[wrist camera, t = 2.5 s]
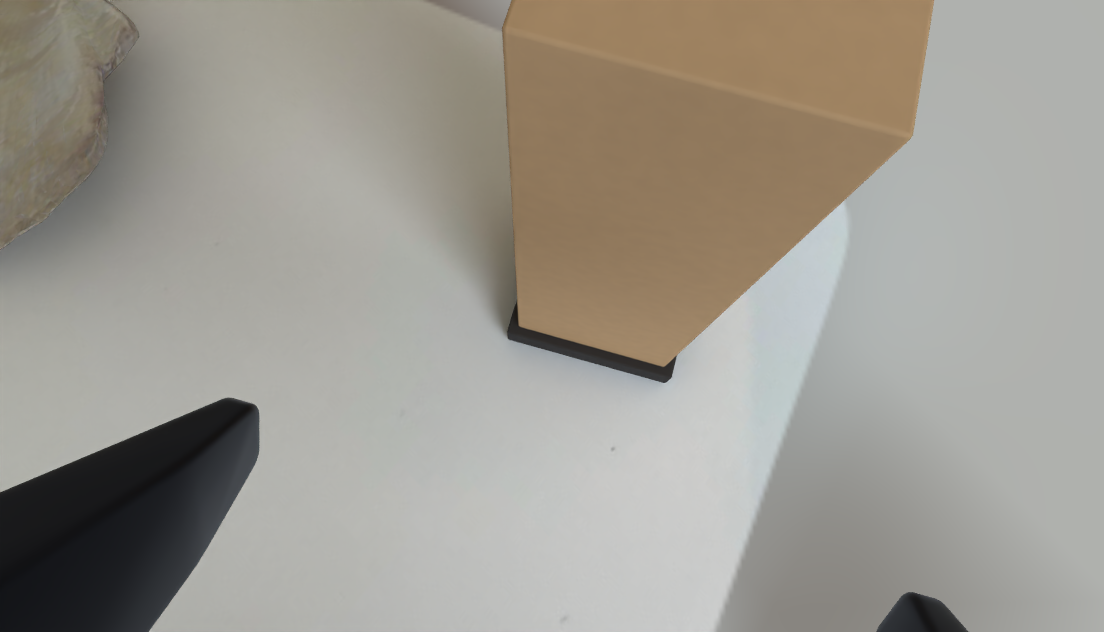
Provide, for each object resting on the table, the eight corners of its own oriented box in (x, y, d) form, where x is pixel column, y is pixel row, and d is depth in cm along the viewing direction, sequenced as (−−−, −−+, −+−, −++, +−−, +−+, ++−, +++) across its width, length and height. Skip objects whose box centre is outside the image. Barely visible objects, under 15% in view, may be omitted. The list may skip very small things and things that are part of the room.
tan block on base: (700, 235, 25) (990, -196, 9) (665, 383, 23) (936, 167, 8) (551, 194, 25) (589, -295, 9) (507, 339, 24) (468, 44, 8)
